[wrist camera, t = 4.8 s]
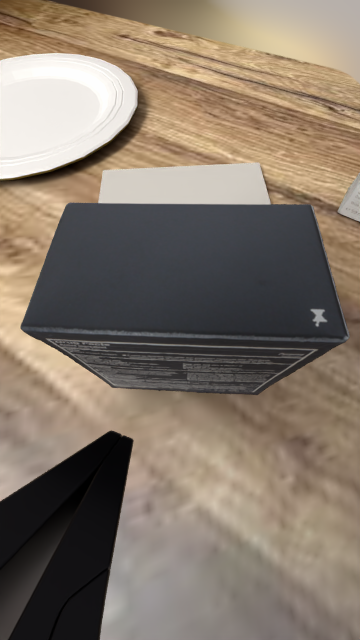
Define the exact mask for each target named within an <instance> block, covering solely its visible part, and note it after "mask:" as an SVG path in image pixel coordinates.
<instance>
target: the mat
mask: <svg viewBox="0 0 360 640" xmlns="http://www.w3.org/2000/svg"><path fill="white" fill-rule="evenodd" d="M98 203H133V204H271V203H270V199H269V196H268V192H267V189H266V185H265V182H264V178H263V175H262V171H261V168H260V164H259V163H242V164H221V165H200V166H180V167H159V168H138V169H118V170H103V175H102V182H101V189H100V195H99V202H98Z"/></svg>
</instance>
